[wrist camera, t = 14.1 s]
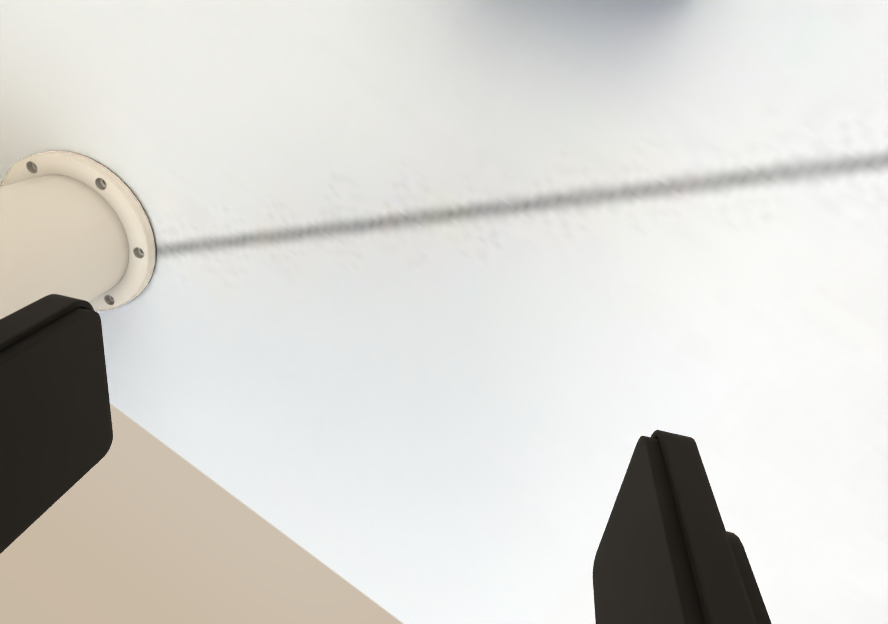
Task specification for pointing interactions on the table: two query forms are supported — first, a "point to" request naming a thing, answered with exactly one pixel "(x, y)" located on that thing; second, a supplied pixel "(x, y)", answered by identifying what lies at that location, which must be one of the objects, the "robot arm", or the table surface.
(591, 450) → the table surface
